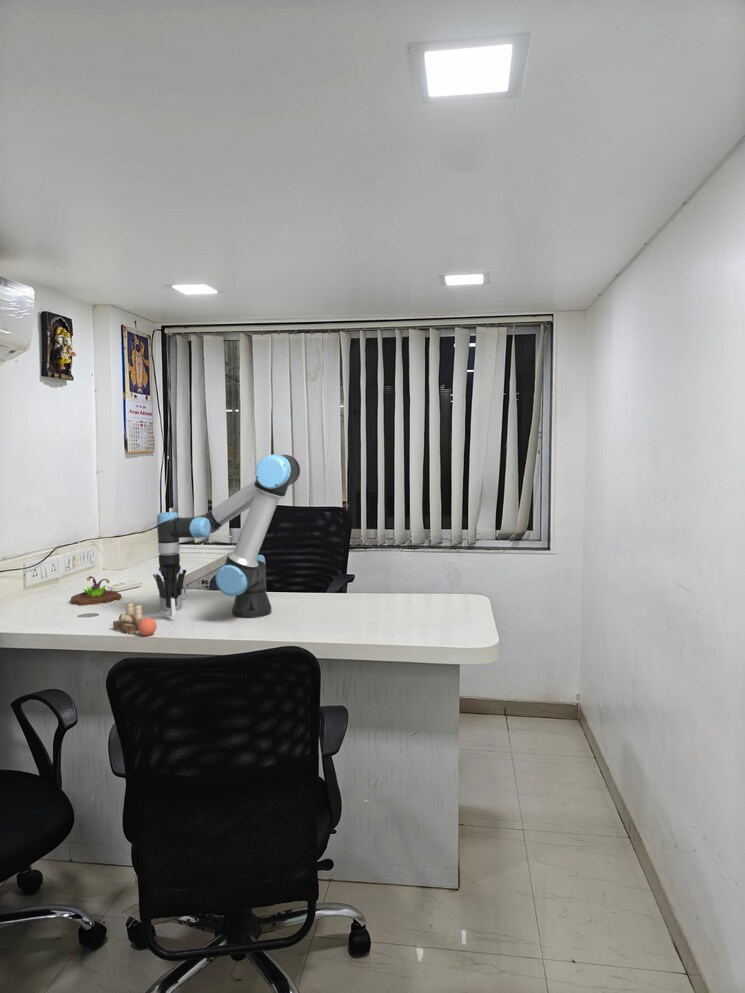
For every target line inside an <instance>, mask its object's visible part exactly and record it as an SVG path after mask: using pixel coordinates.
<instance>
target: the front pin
mask: <svg viewBox="0 0 745 993" xmlns="http://www.w3.org/2000/svg"><path fill="white" fill-rule="evenodd" d="M118 620H119V621H123V622H126V623H129V624H133V625H135V619H134V617H132V616H129V615H126V613H120V614H119V617H118Z"/></svg>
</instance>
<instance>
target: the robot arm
mask: <svg viewBox="0 0 745 993" xmlns="http://www.w3.org/2000/svg"><path fill="white" fill-rule="evenodd" d="M254 474H255V477H256V479H255V480H254V481H252V482H250V483H248V484H247V485H246V486H244V487H243V488H241V489H239V490H238V491H237V492H235V493H233V494H232V495H231V496H229V497H227V499H224V500H223V501H222V502H221V503H219V504H218V505H216V506H214V507H213V508H212V509H210V510H208V511H207V512H206V513H204V514H201V515H196V516H193V517H191V516H190V517H181V516H180V517H179V514H178V512H177V511H165V512H159V513H158V514H157V515H156V528H157V529H156V530H157V545H158V546H157V547H158V551H157V552H158V554H159V555H158V565H159V567H158V570H157V572H156V573H153V574H152V576H153V578H154V580H155V582H156V586H157V589H158V593H160V597H161V598H165V599H166V607H167V608H168V611H167V616H169V617H175V616H176V613H177V610H176V611H175V606H177V598H178V596H180V595H181V596H182V592H183V584H184V580H185V575H186V573H187V570H186V569H183V568H181V565H180V562H181V557H180V553H179V552H180V539H181V538H192V539H193V538H195V539H200V538H207V537H208V536H209V535H210V534H213V533H216V532H217V531H219V530H220V529H221V527H223V526H224V525H225V524H227V523H229V522H230V521H231V520H233V519H235V518H236V517H237V516H239V515H241V514H242V513H243V512H246V511H247V510H248V512H247V516H246V518H245V520H244V523H243V526H242V528H241V531H240V534H239V536H238V539H237V542H236V545H235V546H234V550H233V551H232V552H229V553H228V554H227V557H226V559H225V562H224V563H223V564H224V565H223V566H221V567H220V568H219V569H218V570H217V572H216V575H215V584H216V586H217V588H218V590H219V591H220V592H221V593H222V594H224V595H225V596H228V597H234V602H233V605H232V608H231V615H232V616H233V617H236V618H240V619H241V618H245V619H249V618H258V617H260V618H261V617H264V616H268V615H270V614H272V604H271V602H270V599H269V596H268V594H267V579H266V578H267V575H266V564H267V563H266V559H265V556H264V555H263V554H259V552H260V549H261V547H262V544H263V542H264V540H265V538H266V534H267V531H268V529H269V526H270V524H271V522H272V518H273V516H274V513H275V512H276V511H275V510H276V508H277V506H278V502H279V500H280V499H282V498H285V496H286V493H287V491H288V489H289V486H291V485H293V484H295V483H296V482H297V480H299V477H300V475H301V466H300V464H299V462H298V460H297V459H296V458H295V457H293V456H291V455H288V454H274V453H273V454H270V455H267V456H264V457H263V458H261V459H260V461H259V462H258V463H257V465H256V468H255V473H254ZM163 581H164V585H163ZM171 597H172V598H171Z"/></svg>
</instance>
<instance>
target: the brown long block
mask: <svg viewBox="0 0 745 993" xmlns="http://www.w3.org/2000/svg"><path fill="white" fill-rule="evenodd" d="M112 624H113V625H112V627H113V630H114V629H116V630H119V631H122V632H121V633H123V632H125V633H124V634H126V633H128V634H127V635H129V634H132V635H135V633H137V631H136V630H135V625H133V624H129V623H126V622H123V621H120V620H119V619H118V620H113V621H112ZM116 630H115V631H116ZM119 631H118V632H119Z"/></svg>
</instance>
